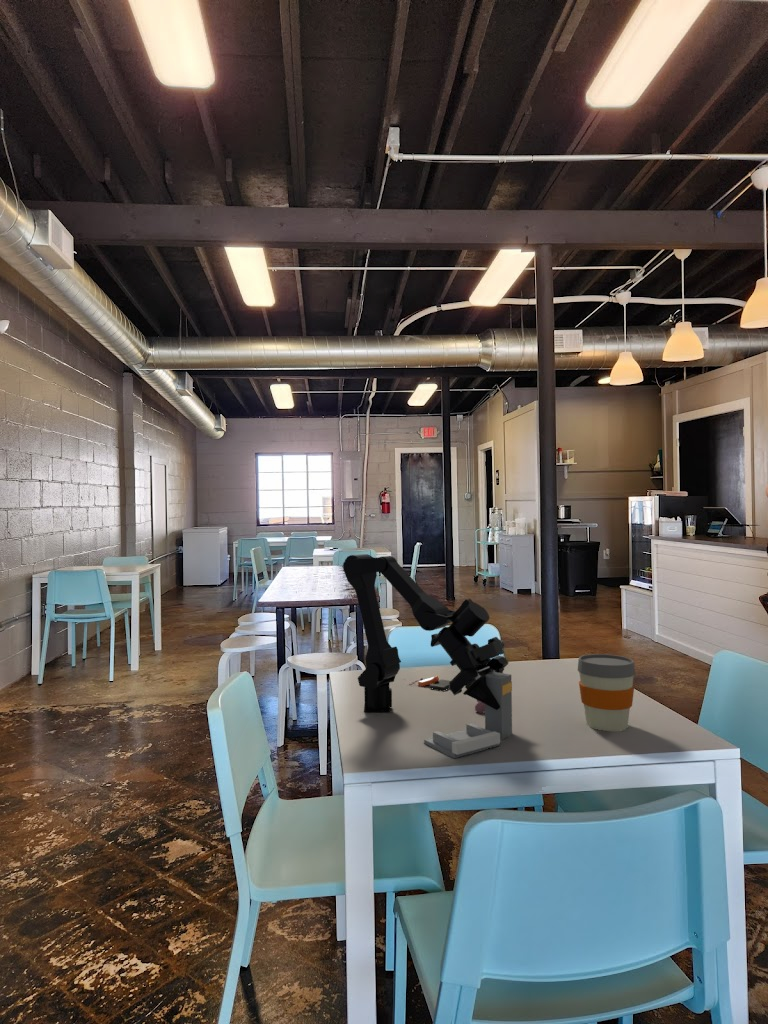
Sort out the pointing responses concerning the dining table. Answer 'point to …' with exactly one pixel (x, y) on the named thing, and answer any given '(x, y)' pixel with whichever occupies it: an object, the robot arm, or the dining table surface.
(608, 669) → the reusable coffee cup
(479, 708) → the video game controller
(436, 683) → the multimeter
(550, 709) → the dining table surface
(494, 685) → the block
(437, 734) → the rail plate
